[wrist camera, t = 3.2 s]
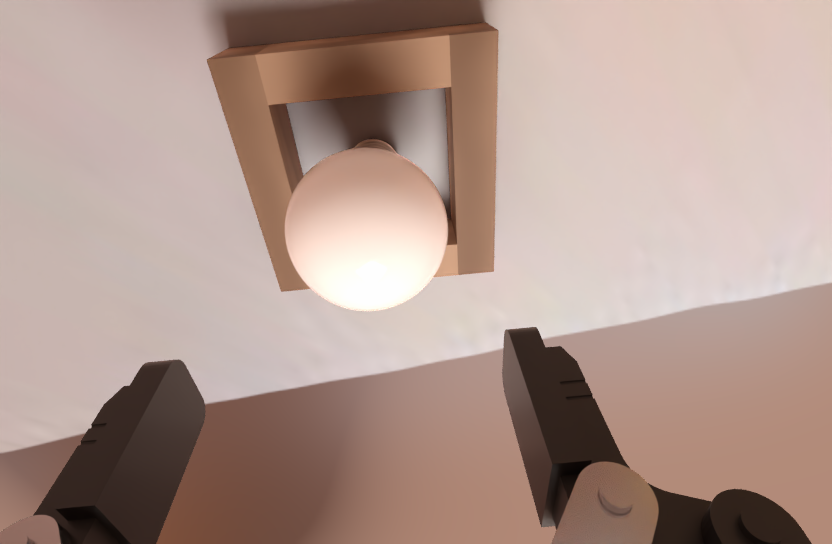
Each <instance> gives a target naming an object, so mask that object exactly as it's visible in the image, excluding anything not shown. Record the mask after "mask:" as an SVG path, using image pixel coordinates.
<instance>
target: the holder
mask: <svg viewBox="0 0 832 544" xmlns="http://www.w3.org/2000/svg"><path fill="white" fill-rule="evenodd" d="M207 62H208V65H209V68H210V71H211V75H212V78H213V81H214V84H215V87H216V90H217V93H218V96H219V99H220V103H221V106H222V109H223V112H224V115H225V118H226V121H227V124H228V127H229V131H230V134H231V137H232V140H233V143H234V146H235V149H236V152H237V155H238V159H239V162H240V165H241V168H242V171H243V174H244V177H245V180H246V183H247V187H248V190H249V193H250V196H251V199H252V202H253V205H254V208H255V211H256V215H257V218H258V221H259V224H260V227H261V230H262V233H263V236H264V239H265V243H266V246H267V249H268V252H269V255H270V258H271V261H272V264H273V267H274V271H275V274H276V277H277V280H278V283H279V286H280V289H281V292H282V291H292V290H303V289H311V288H309V287H308V285H307V284H306V283H305V282H304V281H303V280H302V278H301V277H300V276H299V274H298V273H297V271H296V269H295V268H294V266H293V264H292V261H291V259H290V256H289V253H288V250H287V246H286V241H285V216H286V211H287V207H288V203H289V201H290V198H291V196H292V193H293V192H294V190H295V188H296V186H297V185H298V183H299V182H300V180H301V179H302V178H303V173H302V169H301V165H300V161H299V157H298V153H297V149H296V144H295V140H294V136H293V132H292V128H291V124H290V120H289V116H288V111H287V107H286V103H294V102H304V101H314V100H325V99H335V98H345V97H355V96H365V95H375V94H385V93H395V92H405V91H415V90H425V89H435V88H445V94H446V117H447V139H448V162H449V184H450V207H451V218H447V220H448V241H447V247H446V251H445V255H444V258H443V260H442V263H441V265H440V267H439V269H438V270H437V272H436V274H435V275H434V277H441V276H451V275H462V274H472V273H483V272H494V234H495V180H496V126H497V71H498V30H497V29H495V28H494V27H492V26H490V25H489V24H487V23H486V22H485V23H475V24H465V25H455V26H445V27H435V28H425V29H415V30H405V31H395V32H385V33H375V34H365V35H356V36H346V37H336V38H326V39H316V40H306V41H296V42H286V43H276V44H266V45H256V46H246V47H236V48H228V49H226V50H224V51H222V52H221V53H219V54H217V55H215V56H213V57H211V58H209V59H207Z"/></svg>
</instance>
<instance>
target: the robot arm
mask: <svg viewBox="0 0 832 544" xmlns="http://www.w3.org/2000/svg"><path fill="white" fill-rule="evenodd" d="M503 385H504V392H505V396H506V400H507V404H508V407H509V411H510V415H511V418H512V422H513V426H514V429H515V433H516V436H517V440H518V444H519V448H520V451H521V455H522V458H523V462H524V466H525V469H526V473H527V477H528V480H529V484H530V487H531V491H532V495H533V498H534V502H535V506H536V510H537V513H538V517H539V520H540V524H541V527H549V526H555V527H556V530H557V531H556V533H555V536H554V538H553V541H552V543H551V544H811V542H810V541H809V539H808V538H807V536H806V534H805V533H804V531H803V530H802V529H801V527H800V526H799V525H798V523H797V522H796V521H795V520H794V518H793V517H791V515H790V514H789V513H787V512H786V511H785V510H784V509H783V508H782V507H780V506H779V505H778V504H776V503H775V502H773V501H771V500H770V499H768V498H766V497H764V496H762V495H760V494H757V493H754V492H751V491H747V490H742V489H732V490H726V491H723V492H721V493H719V494H718V495H717V496H716V497H715V498H714V499H713V501H712V502H711V501H706V500H702V499H697V498H693V497H688V496H684V495H679V494H675V493H670V492H667V491H663V490H661V489H658V488H656V487H654V486H652V485H650V484H649V483H647V482H646V481H645V480H644V479H643V478H642V477H641V476H640V475H639V474H637V473H636V472H634V471H633V470H631V469H630V468H629V466H628V465H627V464H626V462H625V461H624V459H623V457H622V456H621V454H620V451H619V449H618V447H617V445H616V443H615V441H614V439H613V437H612V435H611V433H610V431H609V428H608V426H607V425H606V422H605V420H604V418H603V416H602V414H601V412H600V410H599V407H598V405H597V403H596V401H595V399H593V397H592V393H591V391H590V388H589V386H588V384H587V383H586V382H585V378H584V376H583V374H582V372H581V370H580V368H579V365H578V363H577V361H576V360H575V359H574V358H573V357H571V356H570V355H569V354H568V353H567V352H566V351H565V350H564V349H563V348H562V347H560V346H558V347H547V348H545V345H544V343H543V340H542V338H541V336H540V333H539V331H538V329H537V328H536V327H530V328H520V329H509V330H505V334H504V351H503ZM204 418H205V404H204V400H203V398H202V396H201V394H200V392H199V390H198V388H197V386H196V384H195V383H194V381H193V379H192V377H191V375H190V373H189V371H188V369H187V368H186V366H185V364H184V363H183V362H182V361H181V360H168V361H158V362H148V363H145V364H144V365H143V366H142V367H141V368H140V370H139V371H138V373H137V375H136V376H135V378H134V380H133V381H132V383H131V385H130V386H124V387H122V388H121V389H120V390H119V391H118V392H117V393H116V394H115V395H114V396H113V397H112V398H111V399H110V400H108V401H107V402H106V403H105V404H104V406H103V407H102V409H101V410H100V412H99V413H98V415H97V417H96V418H95V420H94V421H93V423H92V424H91V425H92V428H91V429H88V431H87V432H86V434H85V435H84V437H83V439H82V440H81V445H80V446H78V447H77V448H76V450H75V451H74V453H73V454H72V456H71V457H70V459H69V461H68V462H67V464H66V465H65V467H64V468H63V470H62V472H61V473H60V475H59V476H58V478H57V479H56V481H55V483H54V484H53V486H52V487H51V489H50V490H49V492H48V494H47V495H46V497H45V498H44V500H43V501H42V503H41V505H40V506H39V508H38V509H37V511H36V512H35V513H34V515H33V516H31V517H27V518H25V519H22V520H19V521H18V522H16V523H14V524H12V525H10V526H9V527H7V528H6V529H4V530H3V531H1V532H0V544H156V542H157V540H158V537H159V535H160V532H161V530H162V527H163V525H164V521H165V520H166V517H167V515H168V512H169V510H170V507H171V505H172V502H173V500H174V497H175V495H176V492H177V489H178V487H179V484H180V482H181V479H182V477H183V474H184V472H185V469H186V466H187V464H188V462H189V459H190V457H191V454H192V452H193V449H194V446H195V444H196V441H197V439H198V436H199V434H200V431H201V428H202V426H203V423H204Z"/></svg>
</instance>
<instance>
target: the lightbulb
mask: <svg viewBox="0 0 832 544" xmlns="http://www.w3.org/2000/svg"><path fill="white" fill-rule="evenodd" d="M285 241H286V246H287V250H288V253H289V256H290V259H291V261H292V264H293V266H294V268H295V269H296V271H297V273H298V274H299V276H300V277H301V278H302V280H303V281H304V282H305V283H306V284H307V285H308V287H309V288H311V289H312V290H313V291H314V292H315V293H316V294H318V295H319V296H320V297H322V298H323V299H325V300H327V301H329V302H331V303H333V304H335V305H337V306H340V307H343V308H347V309H351V310H358V311H377V310H383V309H387V308H391V307H394V306H397V305H399V304H401V303H404V302H406V301H407V300H409V299H411V298H412V297H414V296H415V295H416V294H418V293H419V292H420V291H421V290H422V289H423V288H424V287H425V286H426V285H427V284H428V283H429V282H430V281H431V279H432V278H433V277H434V275H435V274H436V272H437V270H438V269H439V267H440V265H441V263H442V260H443V258H444V255H445V251H446V247H447V241H448V220H447V214H446V210H445V206H444V203H443V200H442V198H441V195H440V193H439V192H438V190H437V188H436V186H435V185H434V183H433V182H432V181H431V179H430V178H429V177H428V176H427V175H426V173H425V172H424V171H423V170H422V169H420V168H419V167H418V166H417V165H416V164H414V163H413V162H411V161H410V160H408V159H407V158H405V157H403V156H401V155H399V154H397V153H396V151H395V150H394V149H393V148H392V147H391V146H390V145H389V144H388V143H386V142H384V141H382V140H378V139H368V140H365V141H362V142H360V143H359V144H357V145H356V146H355V147H354V148H353V149H348V150H344V151H341V152H338V153H335V154H333V155H331V156H329V157H327V158H325V159H323V160H322V161H320V162H319V163H317V164H316V165H315V166H313V167H312V168H311V169H310V170H309V171H308V172H307V173H306V174H305V175H304V176H303V178H302V179H301V180H300V182H299V183H298V185H297V186H296V188H295V190H294V192H293V193H292V196H291V198H290V201H289V203H288V207H287V211H286V216H285Z"/></svg>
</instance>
